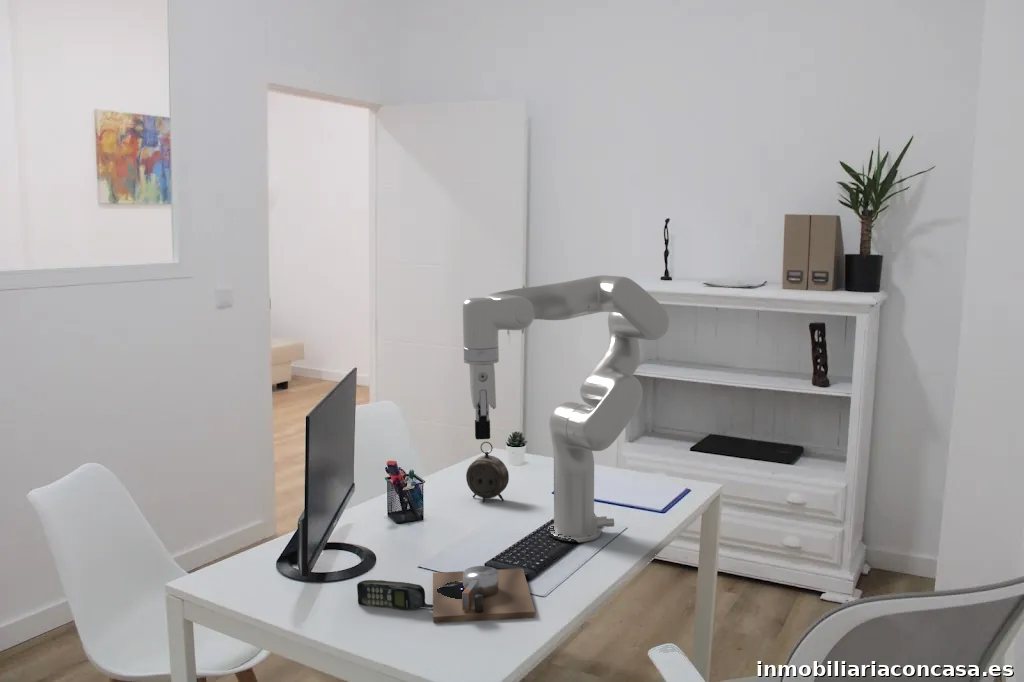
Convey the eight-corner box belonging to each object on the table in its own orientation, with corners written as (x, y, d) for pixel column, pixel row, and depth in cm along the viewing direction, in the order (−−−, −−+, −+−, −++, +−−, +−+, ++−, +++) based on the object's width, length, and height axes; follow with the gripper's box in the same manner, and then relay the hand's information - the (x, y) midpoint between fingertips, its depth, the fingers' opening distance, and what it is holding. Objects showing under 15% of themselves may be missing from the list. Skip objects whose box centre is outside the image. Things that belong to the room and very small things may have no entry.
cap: (469, 580, 180) (469, 564, 180) (502, 584, 178) (502, 567, 178) (447, 608, 167) (447, 591, 167) (483, 612, 165) (483, 594, 165)
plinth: (523, 573, 187) (523, 554, 187) (534, 617, 167) (534, 596, 166) (433, 578, 186) (432, 559, 185) (433, 622, 165) (432, 601, 164)
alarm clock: (509, 500, 237) (508, 440, 235) (502, 506, 232) (501, 445, 230) (472, 496, 241) (471, 437, 239) (464, 501, 236) (462, 442, 234)
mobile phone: (354, 583, 172) (428, 588, 168) (361, 577, 175) (433, 581, 171) (356, 607, 173) (429, 612, 169) (362, 601, 176) (434, 606, 172)
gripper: (501, 360, 184) (502, 446, 186) (496, 349, 199) (497, 429, 201) (465, 361, 183) (466, 447, 186) (462, 350, 198) (464, 431, 200)
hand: (482, 438), depth 193 cm, fingers closed
